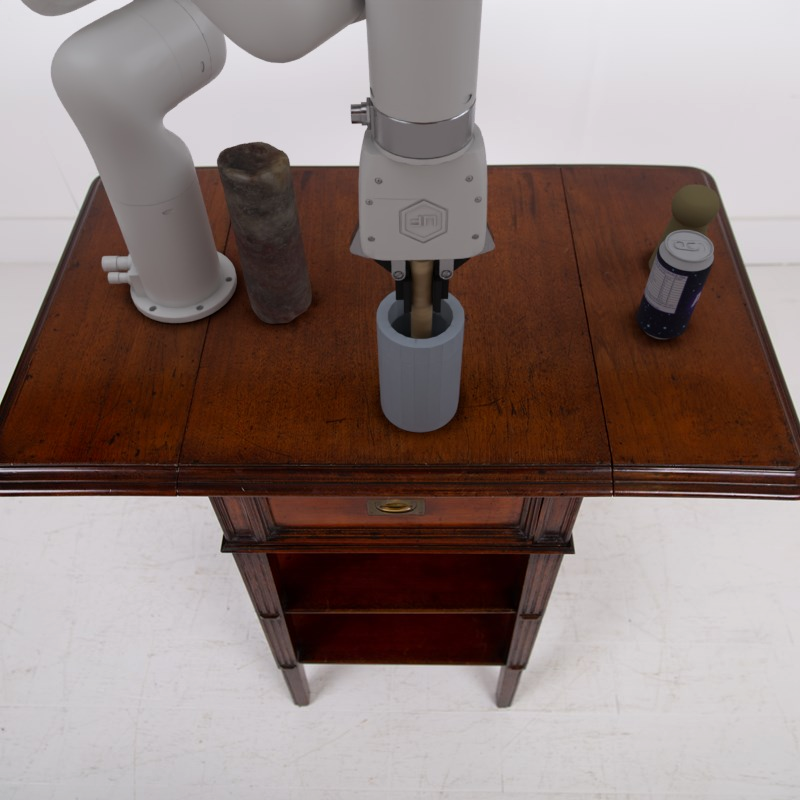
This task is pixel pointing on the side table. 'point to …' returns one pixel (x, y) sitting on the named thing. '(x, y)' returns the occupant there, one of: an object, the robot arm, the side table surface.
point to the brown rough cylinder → (266, 229)
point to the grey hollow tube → (419, 365)
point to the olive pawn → (691, 212)
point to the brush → (421, 298)
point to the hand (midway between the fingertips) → (421, 301)
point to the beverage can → (675, 284)
